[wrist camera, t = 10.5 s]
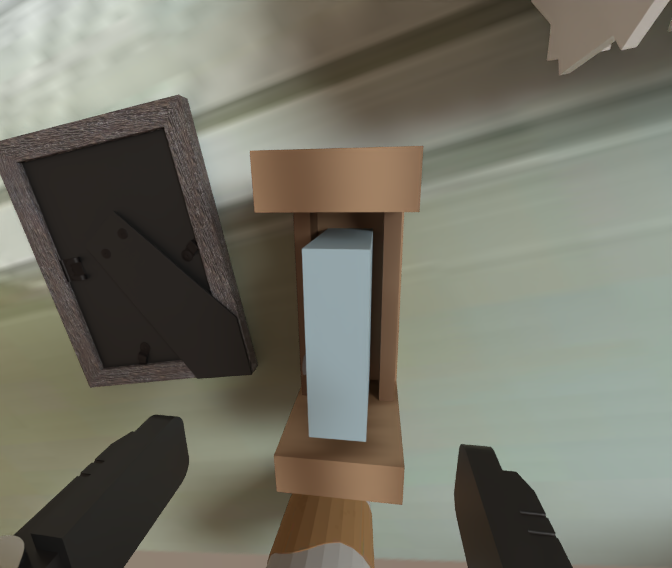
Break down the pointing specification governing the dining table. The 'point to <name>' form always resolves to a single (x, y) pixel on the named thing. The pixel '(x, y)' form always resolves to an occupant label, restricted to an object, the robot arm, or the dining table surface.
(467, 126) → the dining table surface
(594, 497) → the dining table surface
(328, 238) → the door panel
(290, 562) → the coffee cup
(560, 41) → the spiral staircase
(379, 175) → the track
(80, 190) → the picture frame
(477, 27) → the dining table surface
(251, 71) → the dining table surface
